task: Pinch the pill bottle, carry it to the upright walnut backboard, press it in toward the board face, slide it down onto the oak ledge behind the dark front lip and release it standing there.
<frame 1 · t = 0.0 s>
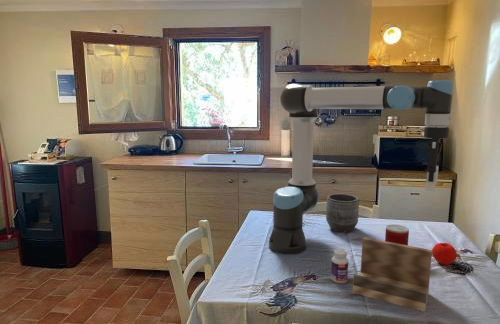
hand: (431, 186, 125), 28 cm above the table, fingers open, 13 cm apart
pill bottle: (339, 280, 116), on the table
cleat board: (393, 285, 112), on the table
planter: (341, 229, 163), on the table
apple: (443, 263, 128), on the table
canned food: (395, 255, 134), on the table
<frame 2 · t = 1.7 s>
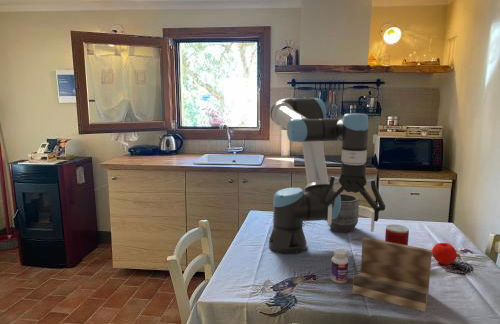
hand: (350, 227, 115), 17 cm above the table, fingers open, 13 cm apart
nothing on the table moved.
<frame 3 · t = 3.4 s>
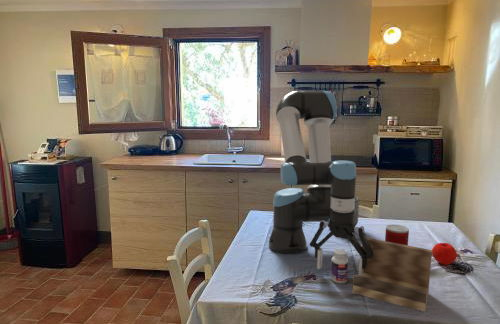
hand: (339, 272, 116), 3 cm above the table, fingers open, 13 cm apart
nothing on the table moved.
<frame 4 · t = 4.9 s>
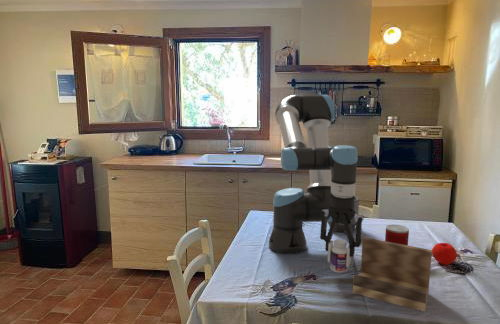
hand: (339, 262, 116), 6 cm above the table, fingers closed on pill bottle, 5 cm apart
pill bottle: (338, 269, 117), point 3 cm above the table, touching gripper
everything else where it was.
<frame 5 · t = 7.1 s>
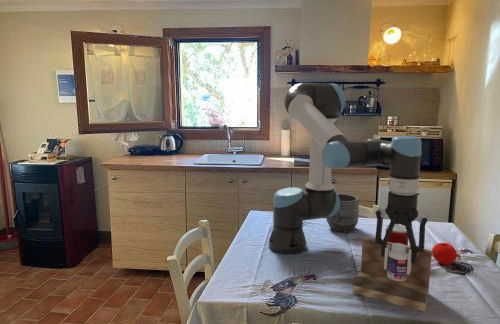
hand: (397, 269, 102), 10 cm above the table, fingers closed on pill bottle, 5 cm apart
pill bottle: (396, 278, 102), point 7 cm above the table, touching gripper
everything else where it was.
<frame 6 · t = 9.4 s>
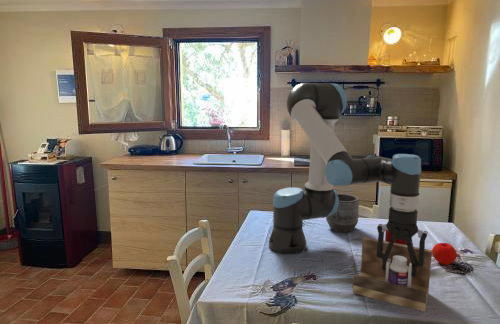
hand: (398, 282, 106), 4 cm above the table, fingers closed on pill bottle, 5 cm apart
pill bottle: (397, 289, 106), point 2 cm above the table, touching cleat board, gripper
everything else where it was.
when the fingers open (4 cm above the table, at t = 9.4 s): pill bottle stays where it is, resting on cleat board.
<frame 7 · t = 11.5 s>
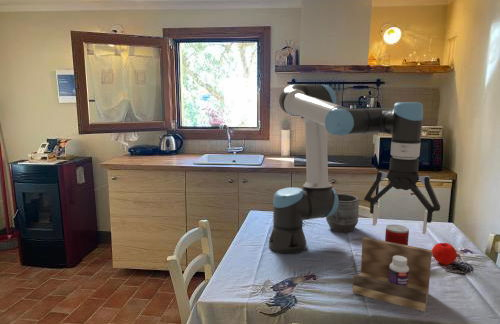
hand: (398, 228, 104), 21 cm above the table, fingers open, 13 cm apart
pill bottle: (397, 289, 106), point 2 cm above the table, touching cleat board
everything else where it was.
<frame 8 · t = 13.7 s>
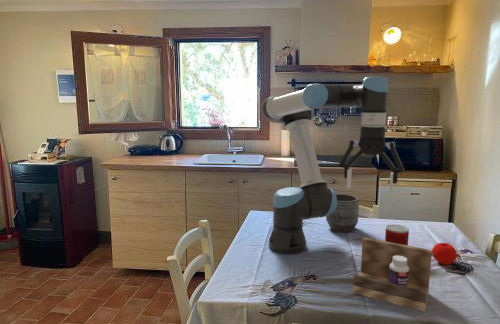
hand: (369, 190, 117), 29 cm above the table, fingers open, 13 cm apart
nothing on the table moved.
at the end: pill bottle inside the target area (2.1 cm from its centre), point 2.3 cm above the table; pill bottle tilted 0°; the gripper is holding nothing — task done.
